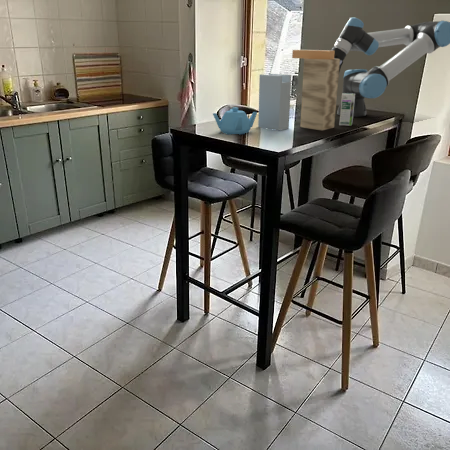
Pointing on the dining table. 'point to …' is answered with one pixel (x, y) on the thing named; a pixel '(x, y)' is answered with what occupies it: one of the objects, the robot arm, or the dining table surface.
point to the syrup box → (347, 109)
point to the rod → (313, 54)
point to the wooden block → (319, 93)
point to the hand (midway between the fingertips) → (316, 90)
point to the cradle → (274, 101)
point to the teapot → (235, 121)
